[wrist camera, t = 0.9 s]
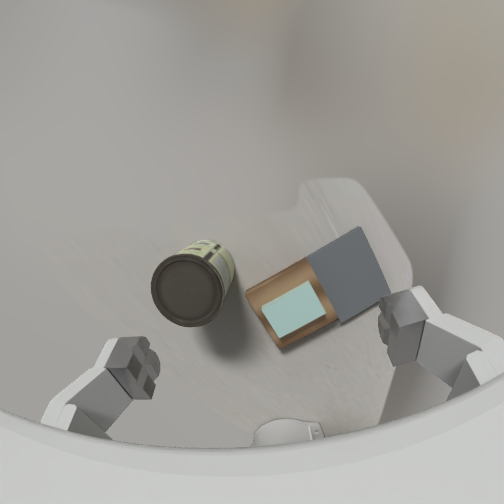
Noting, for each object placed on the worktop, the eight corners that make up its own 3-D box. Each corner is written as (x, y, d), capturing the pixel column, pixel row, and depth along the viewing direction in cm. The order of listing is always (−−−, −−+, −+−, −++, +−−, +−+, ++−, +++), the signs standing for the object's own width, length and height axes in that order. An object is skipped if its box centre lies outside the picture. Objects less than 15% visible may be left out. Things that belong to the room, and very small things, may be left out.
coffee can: (197, 304, 53) (175, 337, 39) (169, 255, 51) (137, 274, 37) (246, 280, 51) (238, 309, 37) (218, 229, 50) (199, 240, 36)
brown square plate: (335, 311, 51) (338, 318, 49) (278, 341, 53) (279, 349, 50) (305, 257, 50) (307, 260, 47) (246, 290, 52) (245, 295, 49)
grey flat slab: (388, 290, 50) (391, 293, 49) (339, 320, 52) (341, 323, 50) (358, 226, 49) (360, 227, 47) (305, 257, 50) (306, 258, 49)
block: (324, 308, 48) (326, 313, 46) (278, 333, 50) (279, 338, 48) (308, 280, 48) (310, 283, 46) (261, 306, 49) (261, 310, 47)
